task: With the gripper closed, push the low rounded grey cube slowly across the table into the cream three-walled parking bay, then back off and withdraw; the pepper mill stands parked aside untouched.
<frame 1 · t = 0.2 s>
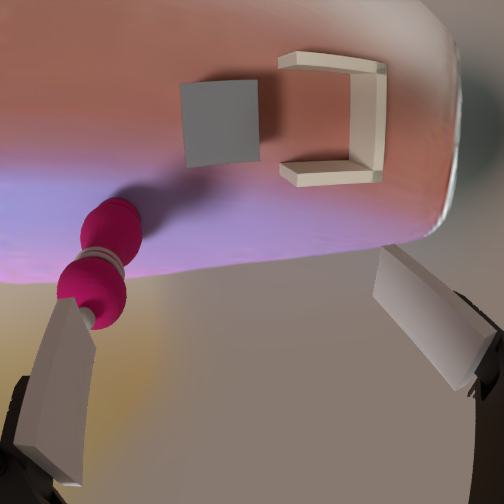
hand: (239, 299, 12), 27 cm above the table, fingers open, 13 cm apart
bay: (316, 116, 36), on the table
pepper mill: (116, 221, 37), on the table
rounded grey cube: (212, 119, 34), on the table
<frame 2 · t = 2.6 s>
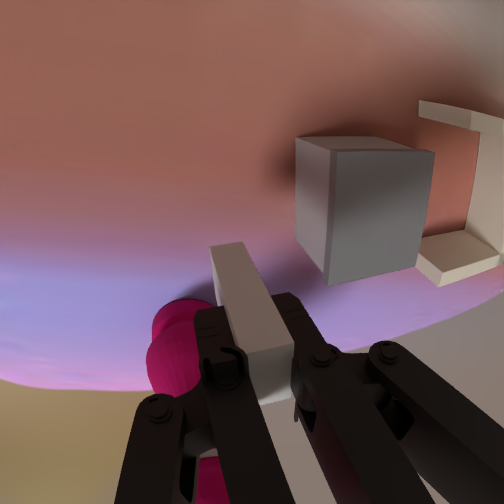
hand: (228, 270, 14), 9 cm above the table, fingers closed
bay: (447, 180, 26), on the table
pepper mill: (187, 325, 27), on the table
rounded grey cube: (336, 186, 24), on the table
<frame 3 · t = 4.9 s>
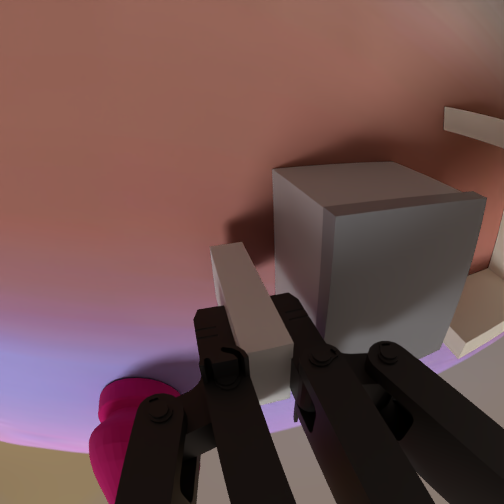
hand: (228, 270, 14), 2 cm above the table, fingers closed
bay: (474, 212, 19), on the table
pepper mill: (141, 401, 20), on the table
rounded grey cube: (335, 235, 17), on the table, touching gripper
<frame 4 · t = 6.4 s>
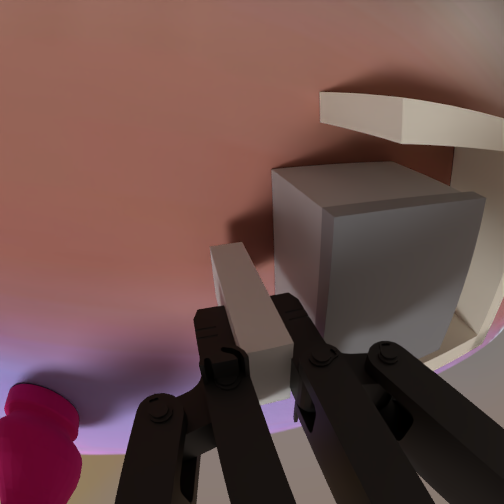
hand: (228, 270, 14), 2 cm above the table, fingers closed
bay: (391, 224, 18), on the table
pepper mill: (43, 405, 18), on the table
rounded grey cube: (334, 235, 17), on the table, touching gripper
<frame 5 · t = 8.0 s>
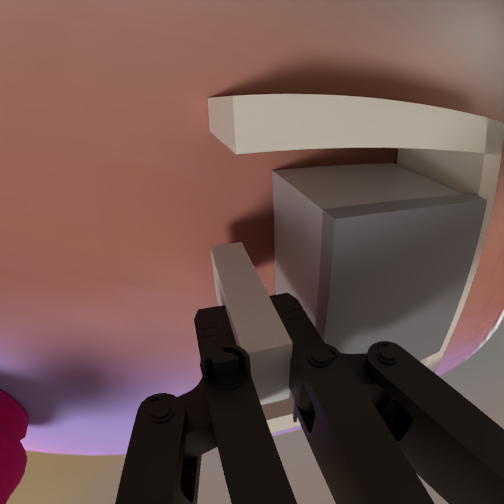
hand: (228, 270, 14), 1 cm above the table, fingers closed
bay: (314, 239, 17), on the table
rounded grey cube: (335, 236, 17), on the table, touching bay, gripper
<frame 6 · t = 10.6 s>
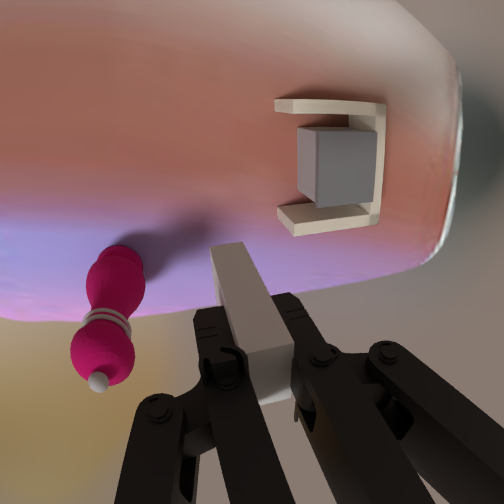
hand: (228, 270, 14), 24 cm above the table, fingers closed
bay: (314, 157, 38), on the table
pepper mill: (119, 266, 38), on the table
rounded grey cube: (322, 157, 38), on the table
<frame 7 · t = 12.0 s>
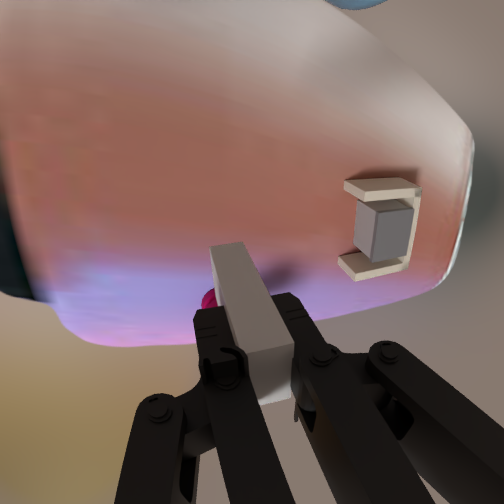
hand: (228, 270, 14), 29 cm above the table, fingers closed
bay: (366, 220, 51), on the table
rounded grey cube: (371, 220, 52), on the table
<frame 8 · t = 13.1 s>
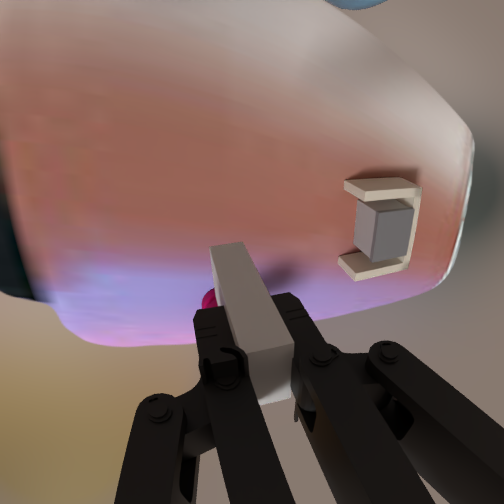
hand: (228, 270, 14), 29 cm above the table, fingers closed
bay: (366, 220, 51), on the table
rounded grey cube: (371, 219, 52), on the table
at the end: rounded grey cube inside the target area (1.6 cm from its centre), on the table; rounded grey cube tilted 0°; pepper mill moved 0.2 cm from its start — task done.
